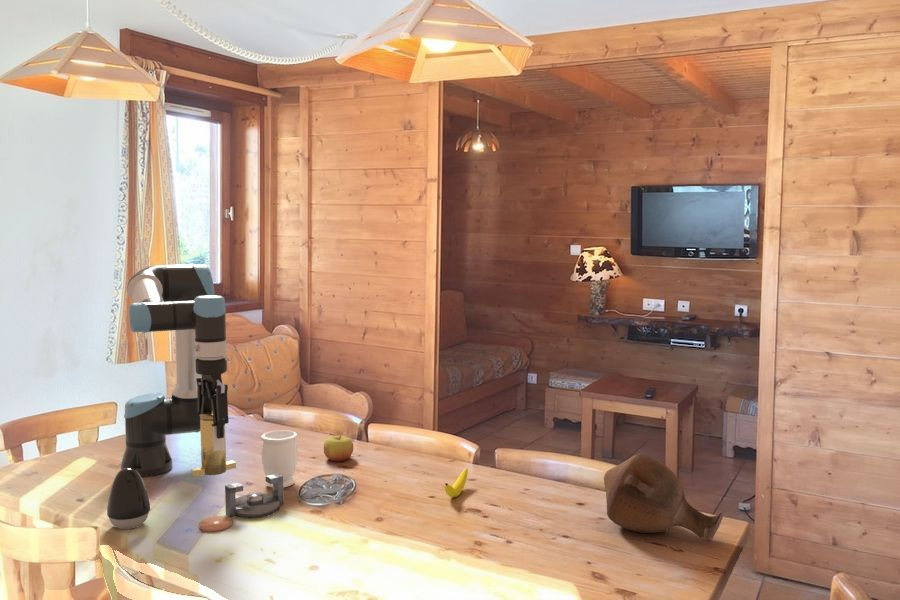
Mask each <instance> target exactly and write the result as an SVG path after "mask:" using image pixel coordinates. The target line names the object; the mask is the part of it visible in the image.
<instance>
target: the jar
mask: <svg viewBox="0 0 900 600" xmlns="http://www.w3.org/2000/svg"><path fill="white" fill-rule="evenodd" d="M297 437H298V432H295V431H293V430H287V429H286V430H272V431H267V432H264V433H263V434H261V440H262V447H261V462H262V466H263V472H264V476H265V477H266V476H268V475H273V474H277V473H278V474H280V475H282V476H283V489H285V488H287V487H290V486H292V485H294V484H295V479H294V476H295V473H296V470H297V463H298V444H297V440H296V439H297ZM265 485H266V486H267V487H269V488H272V489H273V484H269V483H268V482H266V481H265Z"/></svg>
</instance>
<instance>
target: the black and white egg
mask: <svg viewBox="0 0 900 600" xmlns="http://www.w3.org/2000/svg"><path fill="white" fill-rule="evenodd" d="M150 510H151V502H150V499H149V494H148V491H147V487H146V485H145V482H144V480H143V477H141V476H140V474H139V473H138V472H137V471H136V470H135V469H133V468H124V469H122V470H121V469H120V470H119V471H118V472H117V473H116V475H115V477H114V478H113V481H112V484H111V487H110V491H109V495H108V499H107V508H106V515H107V517H108V519H109V521H110V523H111V524H112V525H113V527H115V528H117V529H121V530H131V529H135V528H138V527H140V526H141V525H143V524H144V523H145V522H146V520H147V518H148V516H149V513H150V512H151V511H150Z"/></svg>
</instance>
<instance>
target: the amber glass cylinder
mask: <svg viewBox="0 0 900 600" xmlns="http://www.w3.org/2000/svg"><path fill="white" fill-rule="evenodd" d="M211 424H214V418H213V412H212V411H208V412H204V413H201V414H200V429H201V431H200V455H201V459H200V461H201V466H200V467H195V468H191V469H190V470H191V473H190V474H191V476H193V477H194V478H196V477H201V476H217V475H222V474H224V473H226V472H227V471H229V470H230V471H231V470H233V469H237V462H236V461H234V460H229V461H227V450H226V449H227V448H226V442H227V440H226V424H225V425H224V439H225V450H220V451H213V427H212V425H211Z"/></svg>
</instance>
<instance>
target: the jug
mask: <svg viewBox="0 0 900 600" xmlns="http://www.w3.org/2000/svg"><path fill="white" fill-rule="evenodd" d="M603 484H604V488H605V489H604V490H605V498H606V514H607V518H608V519H609V520H611V521H612V522H613V523H614V524H615V525H617V526H619V527H621V528H623V529H626V530H629V531H632V532H637V533H644V534H653V533H659V532H662V533H663V534H665V535H667V534H669V529H670V528H671V527H676V526H679V527H680V528H681V527H682V528H684V529H687V530H688V531H691V532H692V533H694V534H696V536H698V537H699V538H700V539H705V540H707V541H710V542H711V541H712V540H713V539H714V538H715V535H716V534H717V531H718V530H719V528H720V525H721V523H722V520H723V518H724V513H723V512H720V513H719V514H717V515H712V516H711V515H707V514H704V513H702V512H701V511H699V510H697V509H696V508H694V507H693V506H692V505H691V504H690V503H688V501H687V499H686V497H685V491H684V489H683V486H682V483H681V481H680V479H679V478H678V476H677V475H676V474H675V473H674V472H673V470H671V468H669V467H668V466H667V465H665V463H663V462H662V461H660V460H659V459H658V458H656V457H654V456H653V455H650V454H647V453H644V452H638V453H636V454H634V455H632V456H631V457H630V458H628V459H626V460H625V461H623V462H621V463H618V464H617V465H616V466H614V467H612V468H610V469H608V470H607V471H606V472H605V473H604V476H603Z"/></svg>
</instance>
